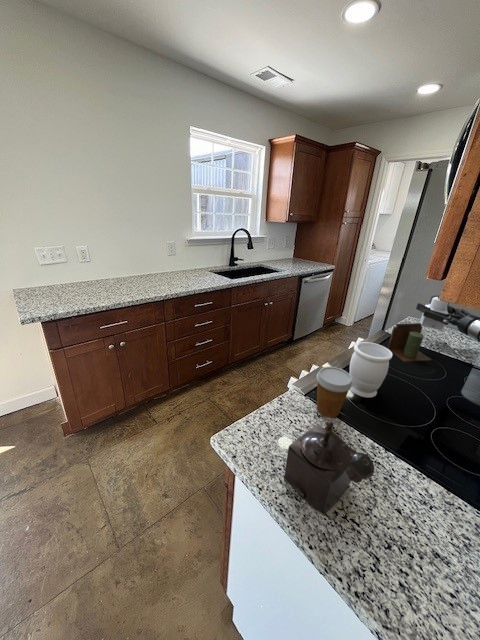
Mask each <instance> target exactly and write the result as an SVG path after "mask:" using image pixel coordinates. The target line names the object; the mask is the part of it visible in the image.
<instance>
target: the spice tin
mask: <svg viewBox="0 0 480 640" xmlns="http://www.w3.org/2000/svg"><path fill="white" fill-rule="evenodd" d="M424 337H425V335H424V334H423V333H422V332H421V333H418V332H410V333H409V336H408V339H407V342H406V345H405V348H404V351H403V354H404V355H406V356H408V357H412V358H415V357H417V354H418V352H419V351H420V348H421V346H422V343H423V340H424Z"/></svg>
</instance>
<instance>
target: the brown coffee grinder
mask: <svg viewBox="0 0 480 640" xmlns="http://www.w3.org/2000/svg"><path fill="white" fill-rule="evenodd" d="M333 428H334V422H332V420H329V421H327V422H326V425H325V427H324V426H322V425H320V424H319V423H317V424H315V425H314V426H313V427H311V428H310V429H309V430H307V431H306V432H305V433H304V434H302V435H301V436H299V437H298V438H297V439H295V440H294V441H293V442H291V444H290V445H288V449H287V455H286V461H285V462H286V463H285V469H284V475H283V478H284V479H285V481H286V482H287V483H288V484H289V485H290V486H291V487H292V488H293V489H294V490H295V492H296V493H297V494H298V495H299V496H300V497H301V498H302V499H303V500H305V501H306V502H307V503H308V504H309V505H311V507H313V508H314V510H316V511H317V512H319V513H320V514H322V515H325V514H326V513H328V512H329V511H330V510H331V509H332V508H333V507H334V506H335V505H336V504H337V503H338V502H339V501H340V500H341V498H342V497H343V496H344V495H345V493H346V491H347V489H348V488H349V486H350V485H351V483H352V482H354V483H355V484H359V483H361V482H362V481H363V480H368V479H370V478H372V477H373V476H374V473H375V465H374V464H375V463H374V462H373V461H372V459H371V457H370V456H369V455H367V454H365V453H364V452H361V451H356V450H354V449H353V448H352V447H351V446H349V445H348V443H347V442H345V441H344V440H342V438H341V437H340V436H339V435H338V434H337V433H336V432H334V430H333ZM351 481H352V482H351Z"/></svg>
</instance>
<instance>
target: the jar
mask: <svg viewBox="0 0 480 640" xmlns="http://www.w3.org/2000/svg"><path fill="white" fill-rule="evenodd" d="M392 358H393V352H391V351H390V350H389V349H388V348H387V347H385V346H384V345H381V344H378V343H375V342H371V341H360V342H357V343H354V346H353V353H352V355H351V358H350V361H349V374H350V376H351V378H352V382H353V385H352V387H351V388H350V389H349V391H350V392H352V393H353V394H355V395H357V396H359V397H362V398H367V399H369V398H374V397H376V396H377V394H378V390H379V389H380V387H381V386H382V385H383V382H384V381H385V379H386V376H387V375H388V372H389V367H390V360H392Z"/></svg>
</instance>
